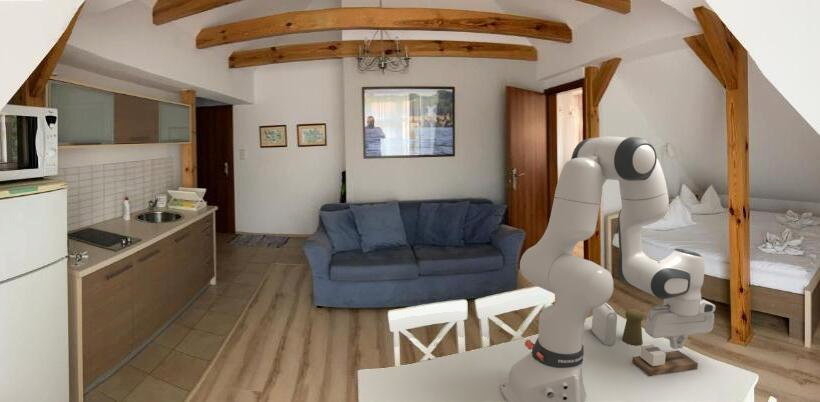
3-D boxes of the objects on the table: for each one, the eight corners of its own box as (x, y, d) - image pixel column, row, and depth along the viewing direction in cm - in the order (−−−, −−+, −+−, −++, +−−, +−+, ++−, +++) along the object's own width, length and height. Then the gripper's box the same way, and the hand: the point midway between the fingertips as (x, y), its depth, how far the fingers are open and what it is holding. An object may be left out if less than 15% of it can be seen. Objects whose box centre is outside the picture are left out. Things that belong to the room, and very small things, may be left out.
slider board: (649, 376, 116) (650, 369, 115) (632, 362, 123) (632, 356, 122) (697, 369, 119) (698, 362, 118) (677, 356, 126) (678, 350, 125)
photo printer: (589, 330, 142) (591, 297, 140) (601, 330, 142) (604, 297, 140) (604, 346, 132) (606, 311, 130) (617, 345, 132) (619, 310, 130)
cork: (645, 346, 131) (648, 315, 129) (625, 345, 133) (627, 313, 131) (638, 337, 137) (641, 306, 135) (619, 335, 138) (621, 305, 136)
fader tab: (652, 366, 117) (653, 354, 116) (639, 356, 122) (640, 345, 121) (664, 364, 117) (665, 352, 117) (651, 355, 122) (652, 343, 122)
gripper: (658, 311, 113) (653, 356, 115) (720, 305, 116) (714, 349, 119) (642, 301, 119) (637, 345, 121) (701, 296, 122) (696, 339, 125)
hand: (676, 347), depth 120 cm, fingers closed
